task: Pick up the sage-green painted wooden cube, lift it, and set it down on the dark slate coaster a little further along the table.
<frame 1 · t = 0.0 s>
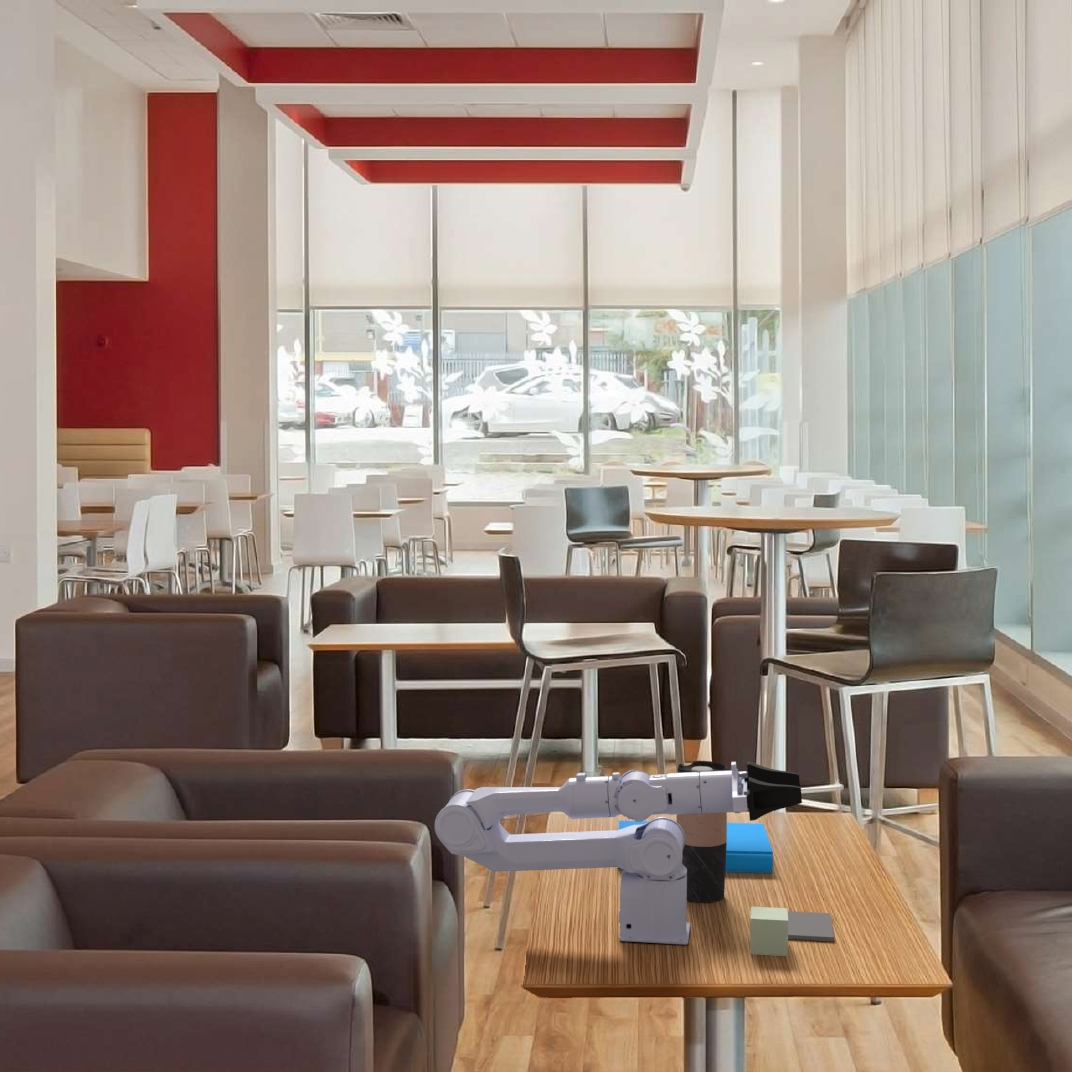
hand: (800, 788, 196), 22 cm above the table, tool horizontal, fingers open, 7 cm apart
travel mug: (700, 896, 218), on the table
book: (692, 860, 238), on the table
coaster: (796, 927, 204), on the table
cube: (768, 949, 196), on the table
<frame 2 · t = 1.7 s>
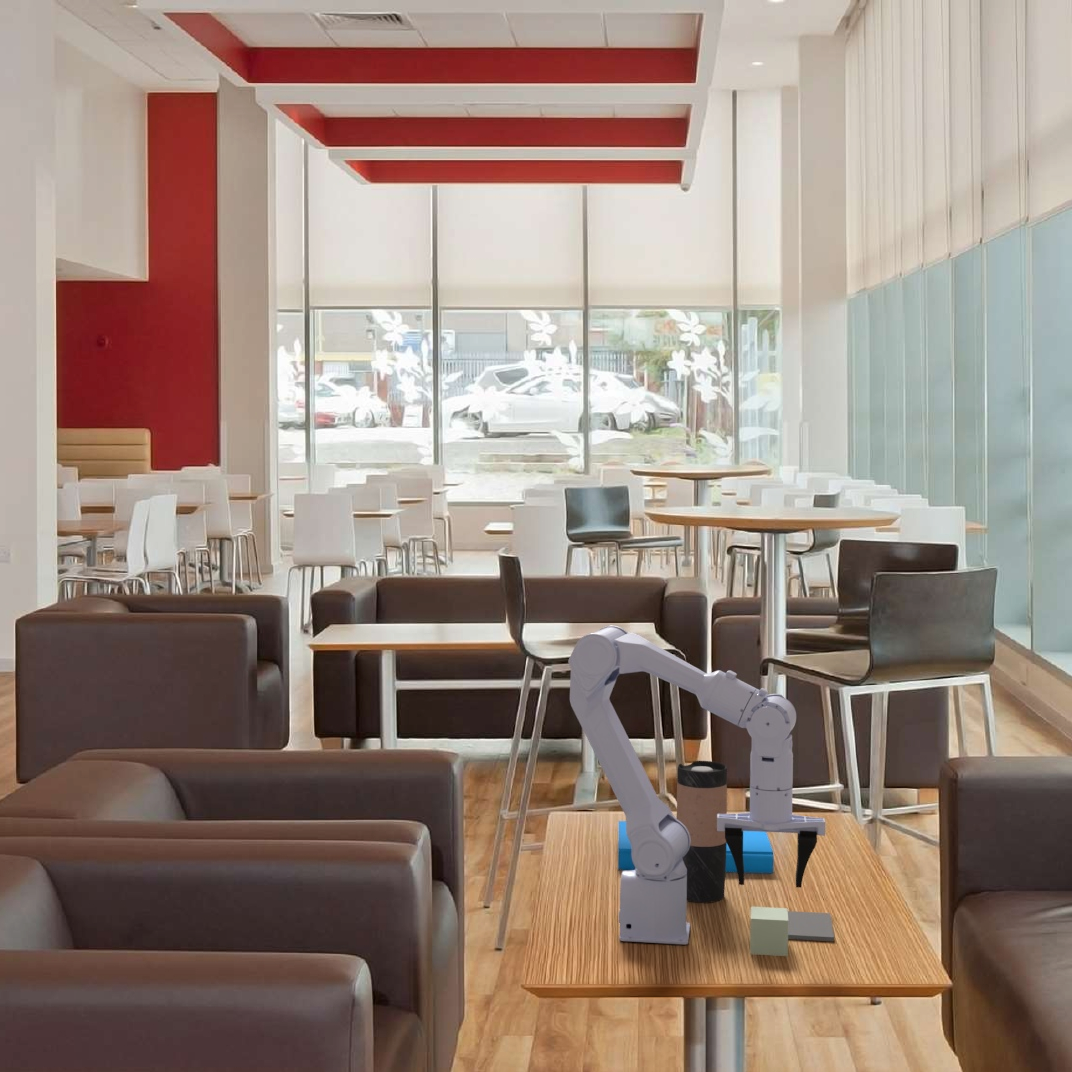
hand: (769, 883, 195), 9 cm above the table, tool pointing down, fingers open, 7 cm apart
nothing on the table moved.
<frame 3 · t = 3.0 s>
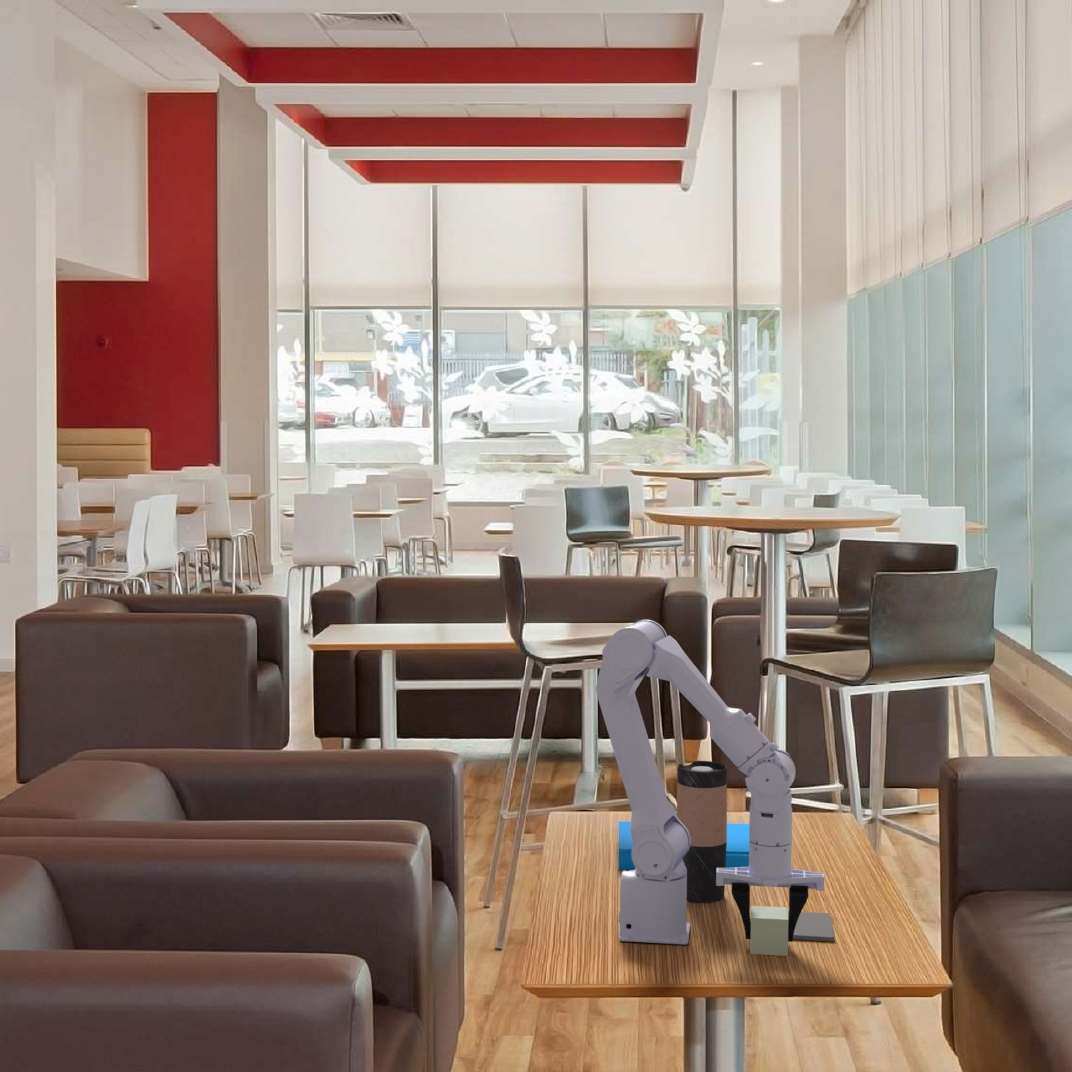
hand: (768, 938, 196), 1 cm above the table, tool pointing down, fingers closed on cube, 5 cm apart
cube: (768, 948, 196), on the table, touching gripper
everything else where it was.
when the fingers open (3 cm above the table, at t = 5.9 s): cube stays where it is, resting on coaster.
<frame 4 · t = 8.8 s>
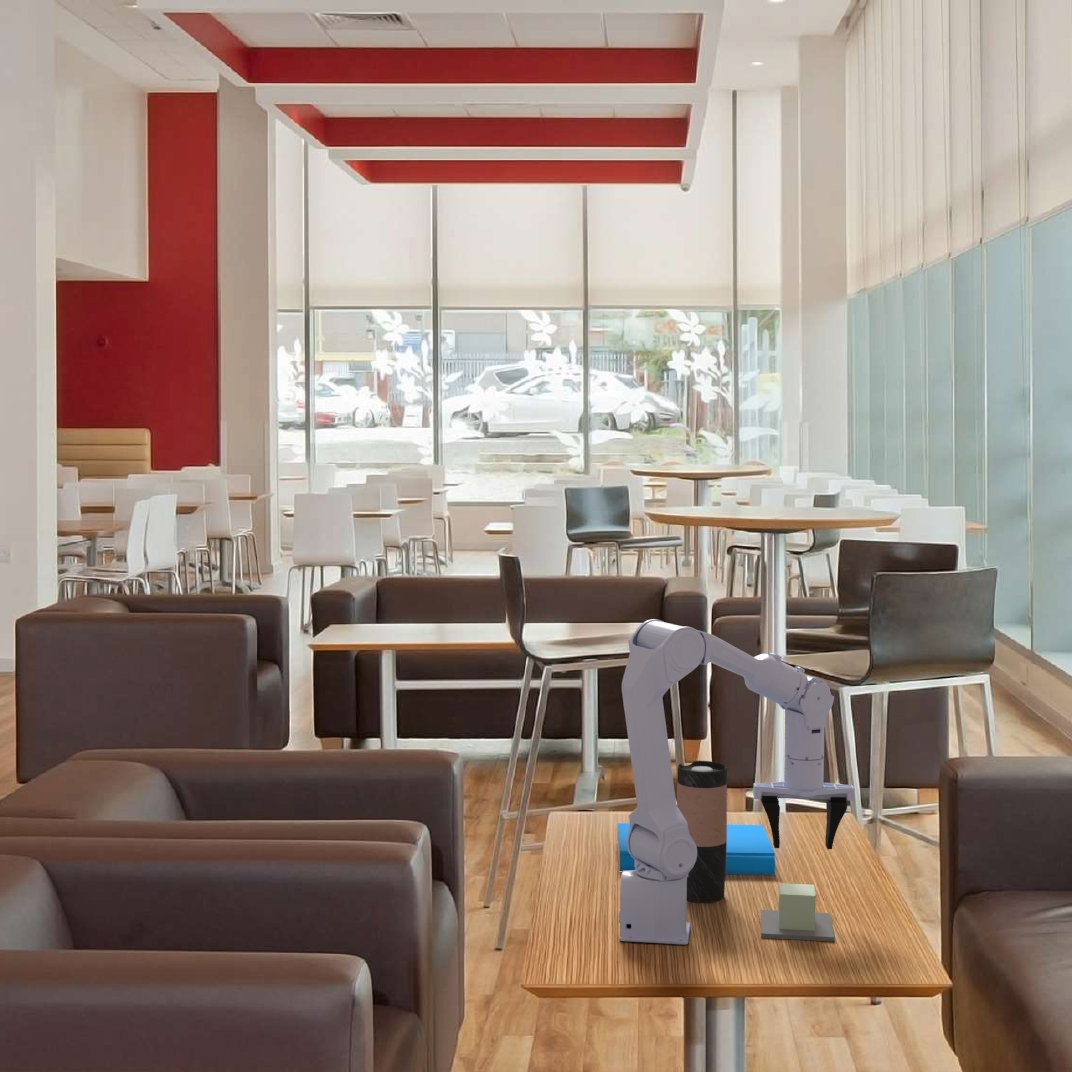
hand: (802, 846, 211), 9 cm above the table, tool pointing down, fingers open, 7 cm apart
cube: (796, 923, 204), point 1 cm above the table, touching coaster
at the end: cube inside the target area on the coaster (0.3 cm from its centre), point 0.6 cm above the coaster's base; cube tilted 0°; the gripper is holding nothing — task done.
